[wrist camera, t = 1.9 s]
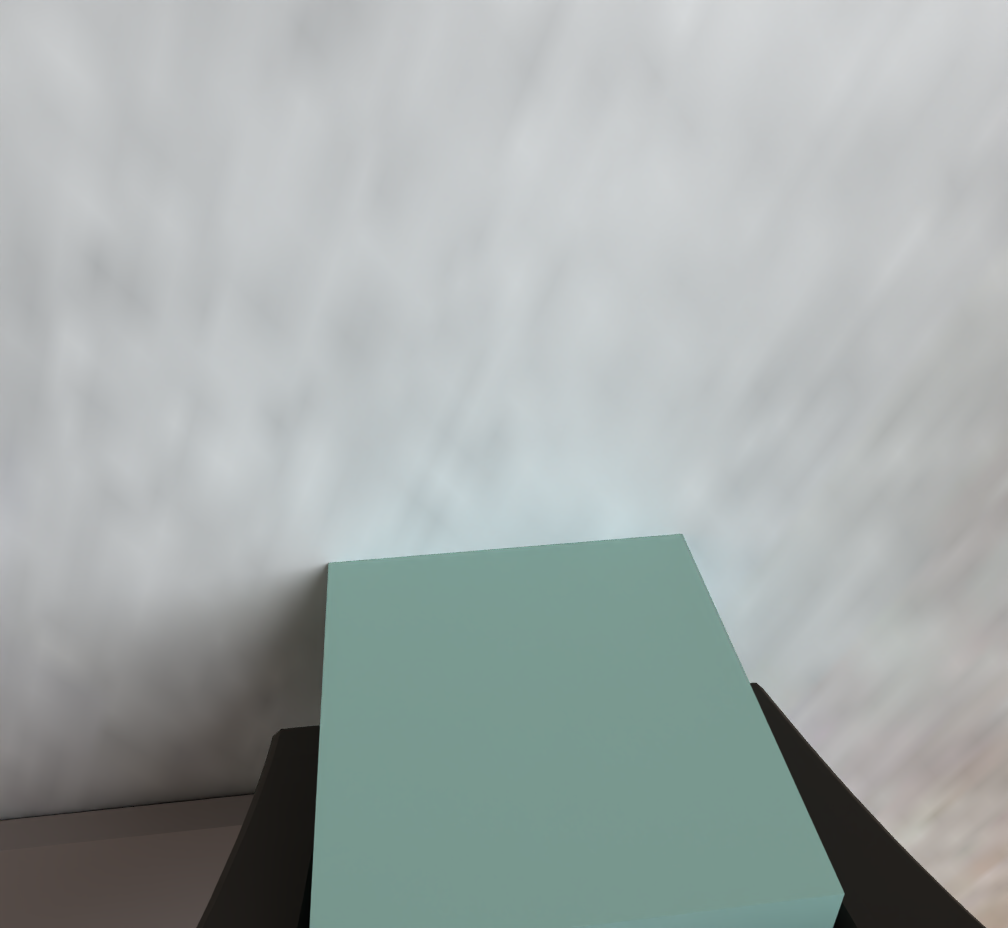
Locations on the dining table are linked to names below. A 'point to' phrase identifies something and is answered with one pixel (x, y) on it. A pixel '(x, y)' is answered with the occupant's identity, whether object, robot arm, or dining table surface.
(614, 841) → the teal block
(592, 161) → the dining table surface
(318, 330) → the dining table surface
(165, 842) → the charcoal mat
